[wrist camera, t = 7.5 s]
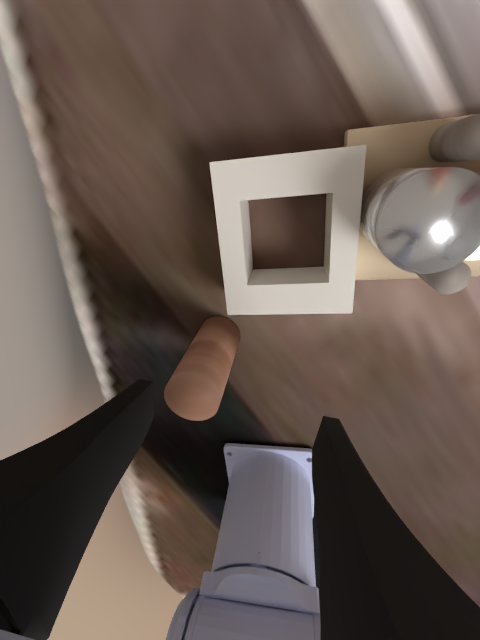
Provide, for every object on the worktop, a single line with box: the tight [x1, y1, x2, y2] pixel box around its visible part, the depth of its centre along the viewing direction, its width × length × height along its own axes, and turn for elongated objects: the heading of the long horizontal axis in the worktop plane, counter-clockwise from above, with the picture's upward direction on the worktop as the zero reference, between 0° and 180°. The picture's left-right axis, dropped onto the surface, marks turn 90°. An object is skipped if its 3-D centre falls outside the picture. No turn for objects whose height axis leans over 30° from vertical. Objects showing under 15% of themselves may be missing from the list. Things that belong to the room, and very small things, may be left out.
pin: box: [164, 316, 240, 421], centre depth 19 cm, size 3×3×7 cm
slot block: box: [209, 145, 366, 315], centre depth 16 cm, size 8×7×3 cm
